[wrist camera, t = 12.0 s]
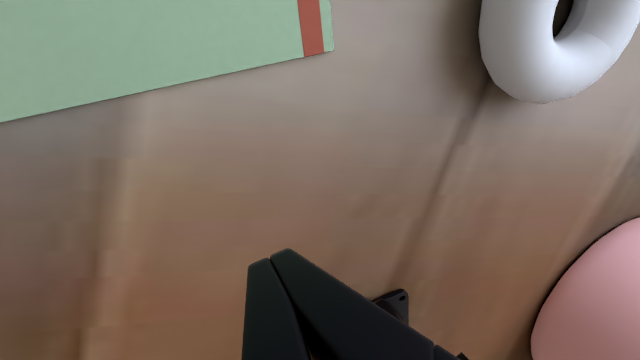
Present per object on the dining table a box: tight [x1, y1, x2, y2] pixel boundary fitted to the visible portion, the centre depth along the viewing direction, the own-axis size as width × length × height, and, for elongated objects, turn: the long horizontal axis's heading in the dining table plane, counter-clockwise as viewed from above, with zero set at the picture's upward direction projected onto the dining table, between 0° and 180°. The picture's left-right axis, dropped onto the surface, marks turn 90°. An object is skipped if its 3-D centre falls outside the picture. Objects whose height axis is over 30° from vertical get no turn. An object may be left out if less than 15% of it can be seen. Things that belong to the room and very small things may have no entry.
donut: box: [478, 0, 640, 104], centre depth 21 cm, size 10×3×10 cm
